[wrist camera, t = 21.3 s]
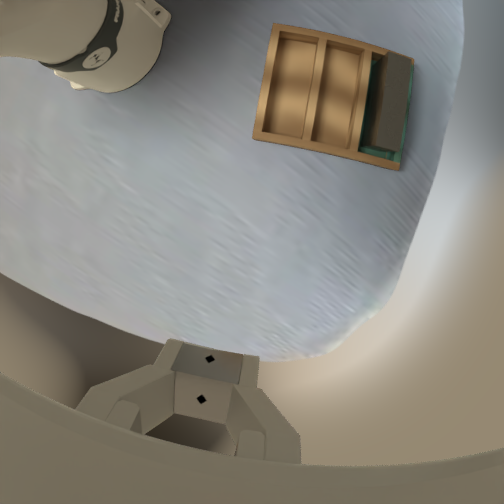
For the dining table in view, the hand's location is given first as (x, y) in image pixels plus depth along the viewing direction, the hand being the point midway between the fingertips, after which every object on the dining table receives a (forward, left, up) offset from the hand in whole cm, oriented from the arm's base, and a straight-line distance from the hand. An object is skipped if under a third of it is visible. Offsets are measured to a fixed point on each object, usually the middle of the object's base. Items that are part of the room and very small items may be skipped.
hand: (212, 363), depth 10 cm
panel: (-4, +20, -34) cm, 40 cm away
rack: (-8, +16, -35) cm, 39 cm away
